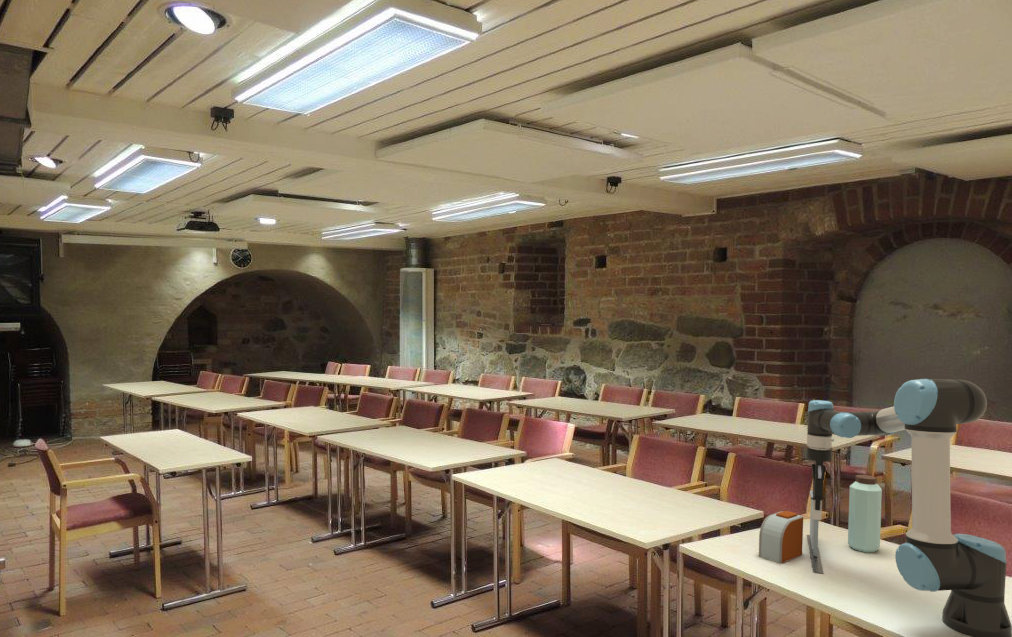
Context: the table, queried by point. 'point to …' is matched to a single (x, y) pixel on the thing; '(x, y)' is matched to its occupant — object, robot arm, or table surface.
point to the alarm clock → (781, 536)
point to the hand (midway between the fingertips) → (816, 519)
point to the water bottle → (864, 514)
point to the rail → (815, 559)
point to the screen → (813, 530)
